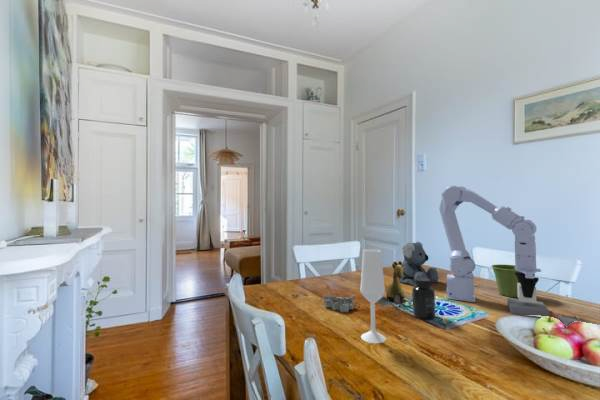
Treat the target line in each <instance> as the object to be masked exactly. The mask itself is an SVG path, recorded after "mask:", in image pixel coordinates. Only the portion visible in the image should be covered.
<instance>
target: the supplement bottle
mask: <svg viewBox="0 0 600 400" xmlns="http://www.w3.org/2000/svg"><path fill="white" fill-rule="evenodd" d="M415 285H416V286H413V287H412V289H411V293H412V297H413V304H412V306H413V307H412V313H413V315H414V317H415V318H417V319H422V320H432V318H433V319H435V318H436V298H435V297H436V296H435V295H436V294H435V290H434V289H433V287H432V283H431V280H430V279H427V278H416V279H415Z"/></svg>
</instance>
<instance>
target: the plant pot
mask: <svg viewBox="0 0 600 400" xmlns="http://www.w3.org/2000/svg"><path fill="white" fill-rule="evenodd" d="M491 268H492V270H493V273H494V276H495V281H496V286H497V289H498V294H499V295H503V296H505V297H507V298H510V297H511V298H518V289H517V283H519V281H518V279H517V276H516V274H515V273H514V272H519V271H516V270H515V264H499V263H498V264H492V265H491Z"/></svg>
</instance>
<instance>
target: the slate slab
mask: <svg viewBox="0 0 600 400" xmlns="http://www.w3.org/2000/svg"><path fill="white" fill-rule="evenodd" d="M506 298H507V300H506V303H507V304H506V305H507V308H508V310H509V312H510V314H512V315H518V316H524V315H541V316H550V310H549V309H548V308H547V306H546V305H545V303H544V302H543V301H539V300H537V303H535V302H527V301H520V300H519V298H514V297H511V298H510V297H506Z"/></svg>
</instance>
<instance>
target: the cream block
mask: <svg viewBox="0 0 600 400" xmlns="http://www.w3.org/2000/svg"><path fill="white" fill-rule="evenodd" d="M517 289H518V296H517V299H519V300H520V301H527V302H535V303H537V301H538V300H537V287H536V286H535V288H534V292H533V296H532V298H527V297H524V296H523V292H522V287H521V284H520V283H517Z"/></svg>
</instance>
